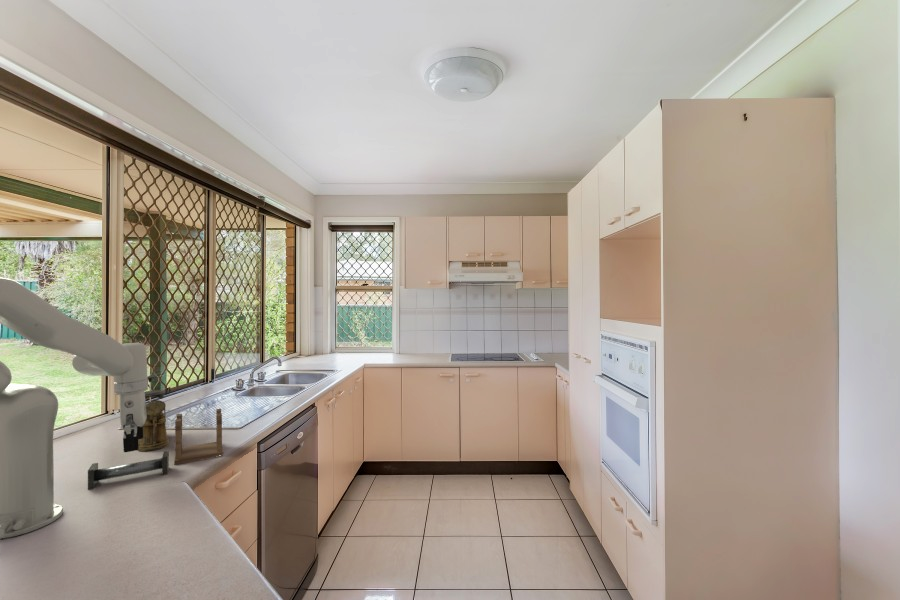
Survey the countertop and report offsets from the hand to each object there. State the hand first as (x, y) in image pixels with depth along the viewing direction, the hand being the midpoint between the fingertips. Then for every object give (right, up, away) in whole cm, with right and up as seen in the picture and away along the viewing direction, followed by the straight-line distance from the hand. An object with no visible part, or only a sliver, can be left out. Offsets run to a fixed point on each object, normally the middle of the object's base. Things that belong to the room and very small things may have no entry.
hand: (134, 444), depth 113 cm
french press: (-19, -9, +30) cm, 37 cm away
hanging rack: (+8, -9, +16) cm, 20 cm away
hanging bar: (0, -9, -1) cm, 9 cm away
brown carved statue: (-10, -9, +21) cm, 25 cm away
